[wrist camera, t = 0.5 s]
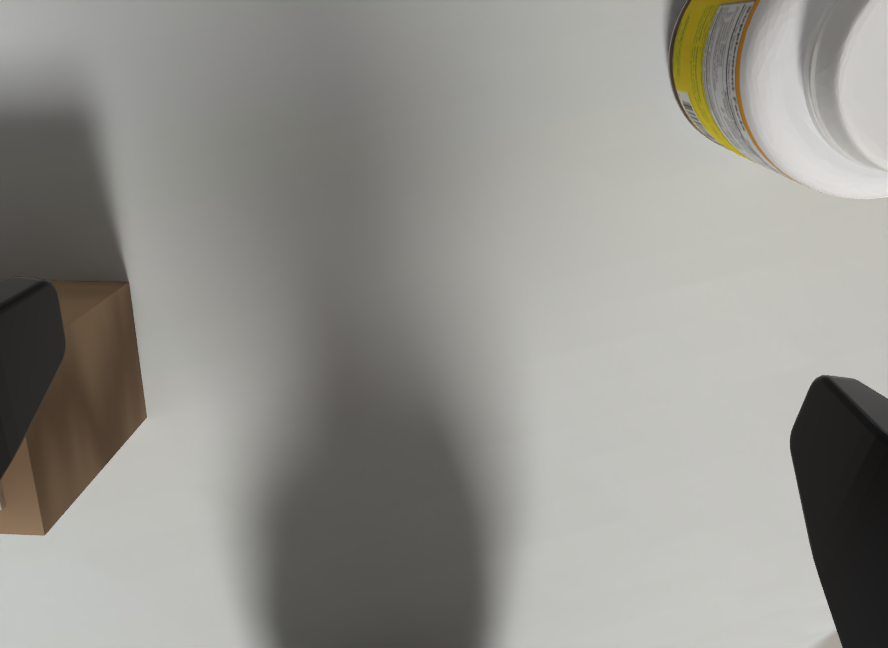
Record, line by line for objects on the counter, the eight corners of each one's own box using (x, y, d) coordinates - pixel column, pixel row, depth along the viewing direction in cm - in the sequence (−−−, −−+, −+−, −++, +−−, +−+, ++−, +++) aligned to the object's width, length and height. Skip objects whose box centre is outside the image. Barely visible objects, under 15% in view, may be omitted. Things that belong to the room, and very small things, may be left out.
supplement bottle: (878, -51, 22) (1192, -116, 12) (835, 153, 24) (1076, 235, 14) (675, -59, 22) (827, -129, 12) (649, 144, 24) (762, 219, 14)
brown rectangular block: (147, 417, 28) (40, 539, 21) (8, 412, 28) (-141, 532, 21) (129, 282, 26) (7, 369, 19) (-19, 278, 26) (-190, 363, 20)
